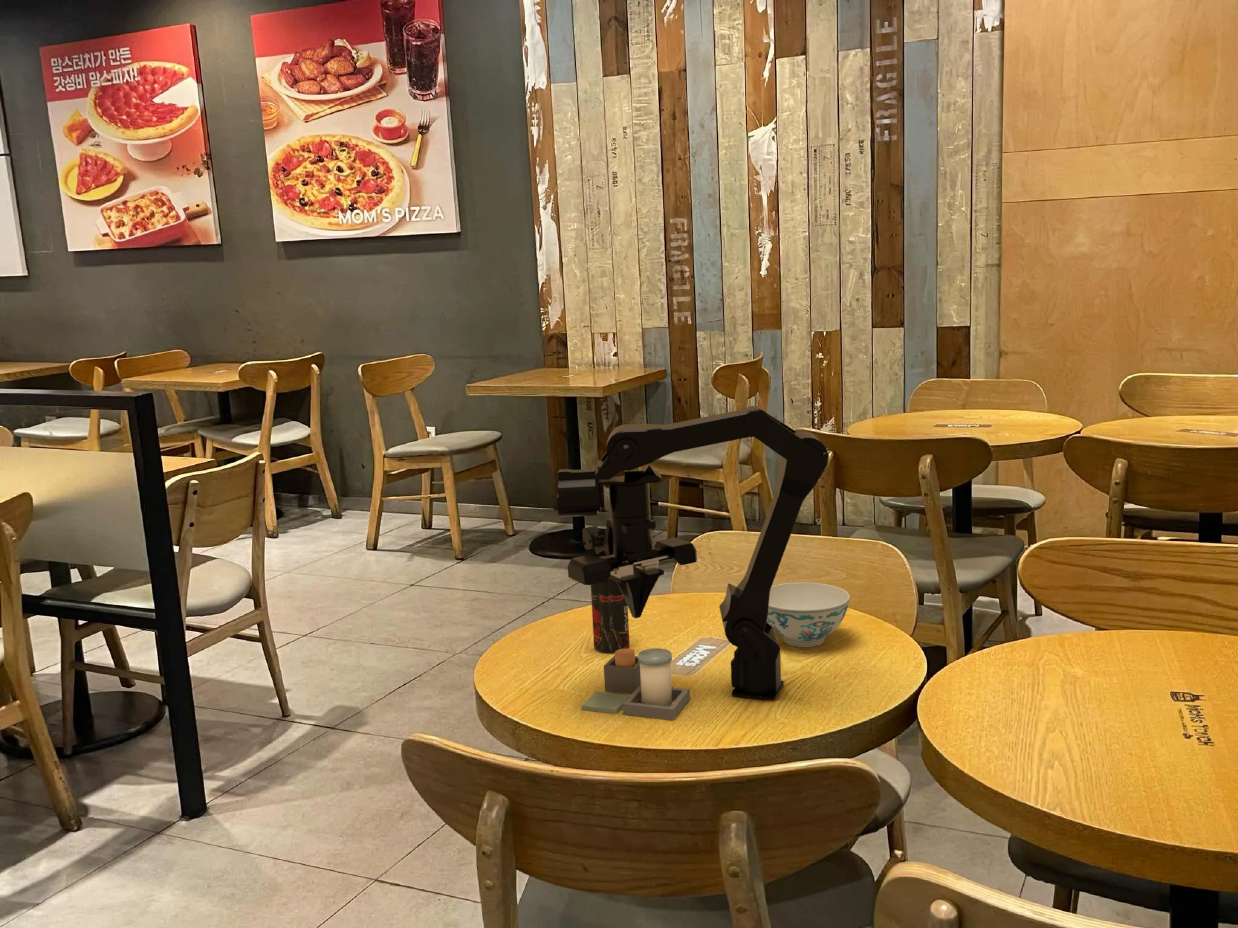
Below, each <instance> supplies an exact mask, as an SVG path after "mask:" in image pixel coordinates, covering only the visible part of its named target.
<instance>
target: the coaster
mask: <svg viewBox="0 0 1238 928" xmlns="http://www.w3.org/2000/svg"><path fill="white" fill-rule="evenodd" d="M630 695H631V694H626V693H617V692H608V691H595V692H593V694H591V695H590V696H589V697H588V698H587V699H586V701H584V702H583V703H582V704H581V707H580V708H581V710H582V711H592V712H599V713H606V714H618V713H619V712H620V711H621V710H623V703H624V702H625V701H626V700H627V698H628V697H629V696H630Z"/></svg>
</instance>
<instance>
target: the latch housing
mask: <svg viewBox="0 0 1238 928" xmlns="http://www.w3.org/2000/svg"><path fill="white" fill-rule="evenodd" d="M603 678H604V692H607V693H616V694H625V695H631V694H632V693H633V692H634V691H635V690H636V689H637V688H638V687H639V686H640V684H641V678H640V662H639V661H638V655H637V656H636V655H635V665H634V666H633V667H626V666H616V665H615V655H614V656H612V658H610V659H609V660H608V661H607V662H606V663H605V664H603Z"/></svg>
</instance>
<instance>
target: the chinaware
mask: <svg viewBox="0 0 1238 928" xmlns="http://www.w3.org/2000/svg"><path fill="white" fill-rule="evenodd" d="M850 598H851V597H850V593H848V591H846V590H845V589H843V588H841V587H838V586H835V585H831V584H826V583H820V582H819V583H818V582H808V581H807V582H803V581H801V582H800V581H799V582H785V583H779V584H774V585H772V587H771V590H770V596H769V607H768V616H767V622H768V623H769V624H770V625H771V626H772V627H773V629H774V632H775V633H777V634H778V635H780V637H782V638H783V641H784V643H786V644H787V645H790V646H793V647H800V648H809V647H816V645H817V646H819V645H821V644H823V643H824V642H825V638H826V637H827V636H829V635H831V634H832V633H833V632H834V631H835V630H836V629H837V628H839V626H840V625H841V623H842V621H843V620H844V618H845V616H846V614H847V611H848V608H849V603H850Z"/></svg>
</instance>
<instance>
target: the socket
mask: <svg viewBox="0 0 1238 928" xmlns="http://www.w3.org/2000/svg"><path fill="white" fill-rule="evenodd" d="M629 695H630V696H629V697H628V698H627V700H626V701H625V702H624V703H623V708H622V715H624V714H625V716H633V717H641V718H651V719H659V720H669V721H675V720H676V718H677V717H678V716H679V714H680V713H681V712H682V710H684V708H685V707H686V705H687V704H688V703H689V702H690V701H691V689H690V688H685V687H684V688H682V687H672V705H671V706H670V707H668V706H659V705H650V704H642V701H641V684H640V686H639V687H638V688H637V689H636V690H635V691H634V692H633V693H632V694H629Z"/></svg>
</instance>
